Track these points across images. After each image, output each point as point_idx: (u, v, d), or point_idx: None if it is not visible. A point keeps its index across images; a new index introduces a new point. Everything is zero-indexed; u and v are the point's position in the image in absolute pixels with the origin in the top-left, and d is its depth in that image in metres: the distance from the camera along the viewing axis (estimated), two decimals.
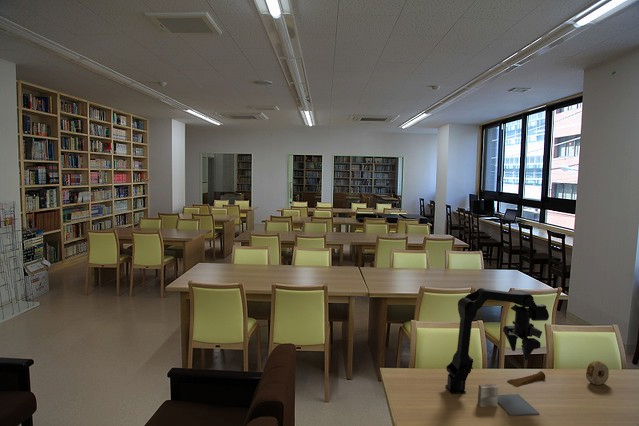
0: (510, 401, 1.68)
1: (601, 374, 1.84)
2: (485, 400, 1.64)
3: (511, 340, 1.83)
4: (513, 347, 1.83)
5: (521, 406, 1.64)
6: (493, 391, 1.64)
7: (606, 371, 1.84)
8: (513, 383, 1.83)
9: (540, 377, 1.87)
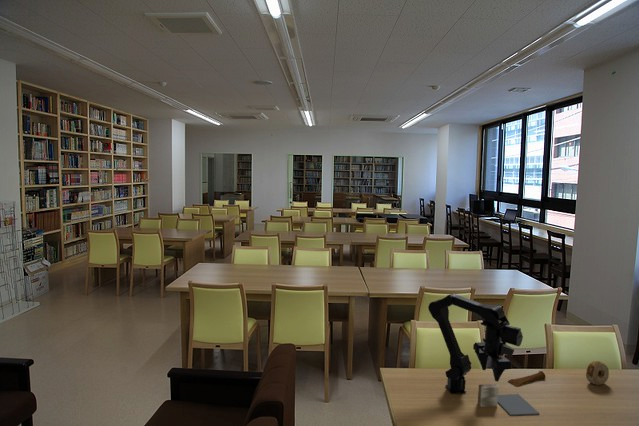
0: (510, 401, 1.68)
1: (602, 374, 1.84)
2: (485, 400, 1.64)
3: (481, 358, 1.70)
4: (484, 366, 1.70)
5: (521, 406, 1.64)
6: (493, 391, 1.64)
7: (606, 371, 1.84)
8: (514, 383, 1.83)
9: (540, 377, 1.88)
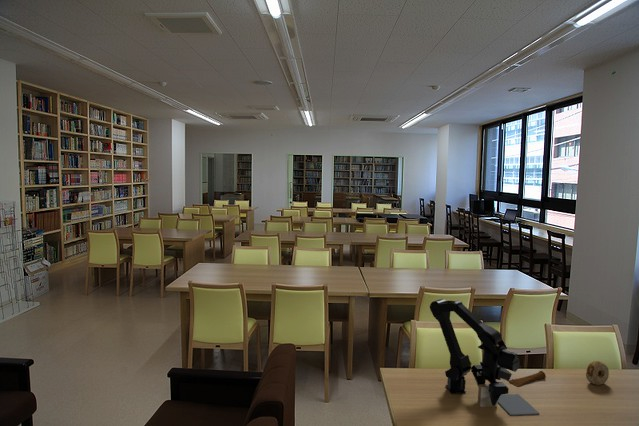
0: (510, 401, 1.68)
1: (602, 374, 1.84)
2: (485, 400, 1.64)
3: (479, 381, 1.70)
4: None
5: (521, 406, 1.64)
6: None
7: (606, 371, 1.84)
8: (515, 383, 1.83)
9: (540, 377, 1.88)
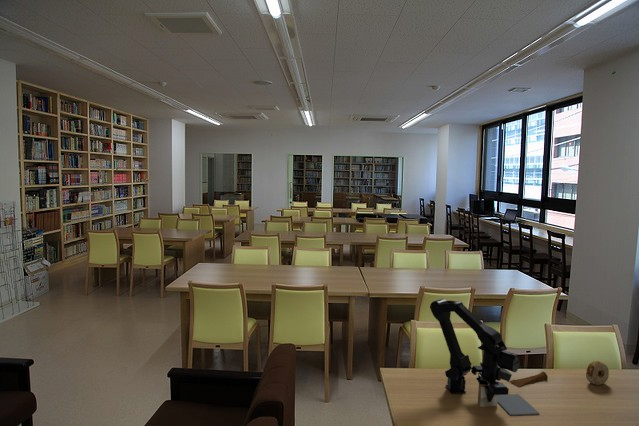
0: (510, 401, 1.68)
1: (602, 374, 1.84)
2: (485, 400, 1.64)
3: None
4: None
5: (521, 406, 1.64)
6: None
7: (606, 371, 1.84)
8: (515, 383, 1.83)
9: (542, 377, 1.87)
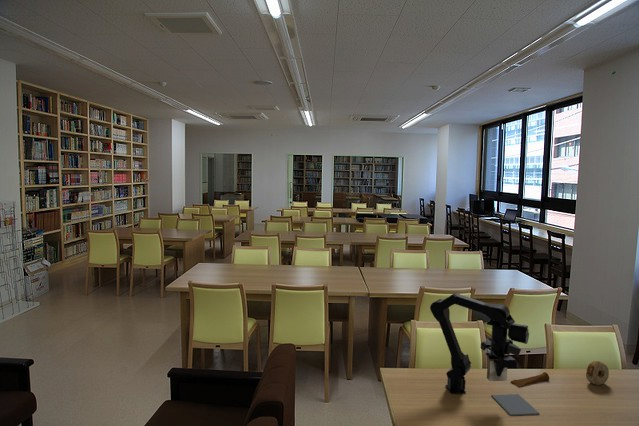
0: (510, 401, 1.68)
1: (602, 374, 1.84)
2: (494, 374, 1.65)
3: None
4: None
5: (521, 406, 1.64)
6: None
7: (606, 371, 1.84)
8: (516, 384, 1.83)
9: (544, 378, 1.87)
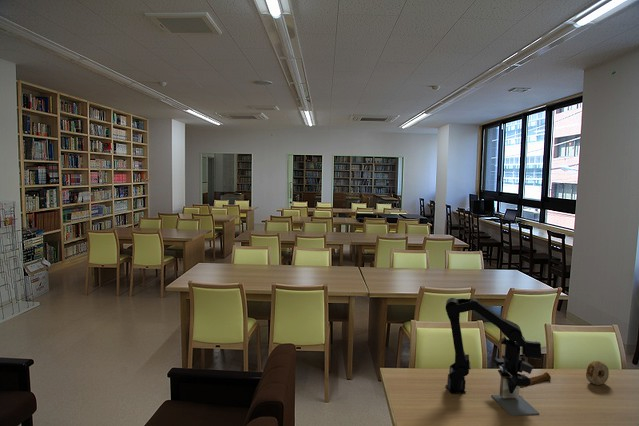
0: (510, 401, 1.68)
1: (602, 374, 1.84)
2: (507, 392, 1.68)
3: None
4: None
5: (521, 406, 1.64)
6: None
7: (606, 371, 1.84)
8: None
9: (545, 378, 1.87)
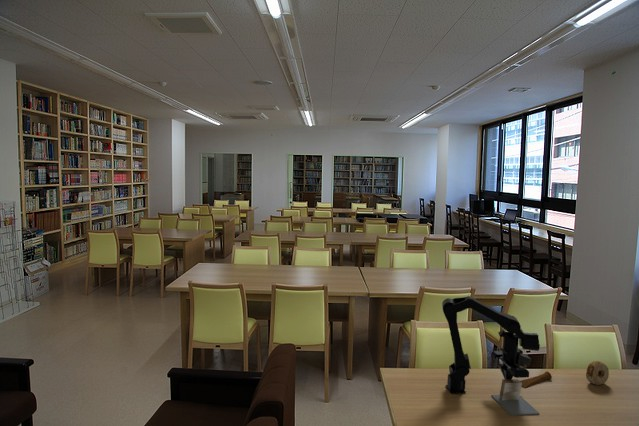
0: (510, 401, 1.68)
1: (602, 374, 1.84)
2: (507, 394, 1.68)
3: None
4: None
5: (521, 406, 1.64)
6: (516, 386, 1.68)
7: (606, 371, 1.84)
8: None
9: (546, 377, 1.87)
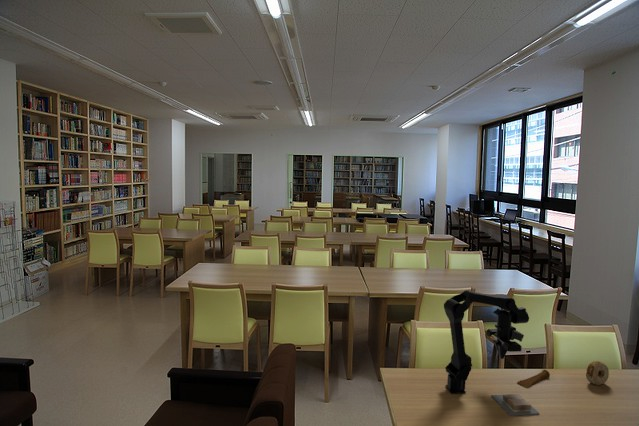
0: None
1: (601, 374, 1.84)
2: None
3: None
4: None
5: None
6: None
7: (606, 371, 1.84)
8: (524, 384, 1.82)
9: (545, 376, 1.89)
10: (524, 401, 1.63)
